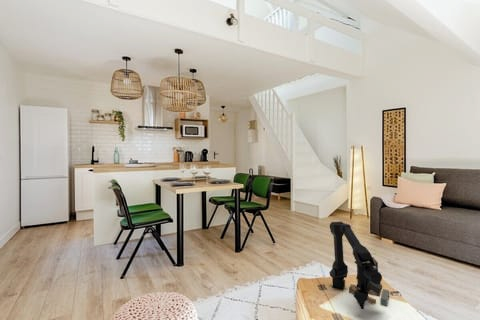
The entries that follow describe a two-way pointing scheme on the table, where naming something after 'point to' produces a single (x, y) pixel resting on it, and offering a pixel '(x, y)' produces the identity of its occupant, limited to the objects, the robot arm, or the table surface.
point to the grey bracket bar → (384, 297)
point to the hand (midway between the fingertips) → (364, 305)
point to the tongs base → (359, 289)
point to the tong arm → (368, 296)
